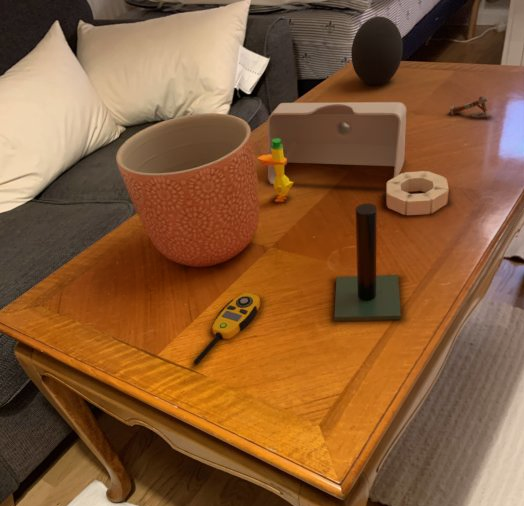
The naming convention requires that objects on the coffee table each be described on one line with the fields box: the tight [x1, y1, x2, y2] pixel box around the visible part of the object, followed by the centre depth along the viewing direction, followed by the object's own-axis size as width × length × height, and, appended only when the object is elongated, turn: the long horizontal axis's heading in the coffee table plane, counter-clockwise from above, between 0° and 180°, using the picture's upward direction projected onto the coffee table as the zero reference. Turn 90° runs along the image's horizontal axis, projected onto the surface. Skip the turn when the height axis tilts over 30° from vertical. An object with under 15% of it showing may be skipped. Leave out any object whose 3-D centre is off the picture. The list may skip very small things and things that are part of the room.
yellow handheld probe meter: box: [193, 292, 261, 365], centre depth 74 cm, size 5×2×15 cm
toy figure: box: [256, 138, 295, 203], centre depth 95 cm, size 7×4×12 cm, turn 64°
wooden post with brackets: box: [449, 95, 490, 119], centre depth 110 cm, size 2×8×4 cm, turn 50°
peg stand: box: [333, 203, 402, 322], centre depth 70 cm, size 9×9×15 cm
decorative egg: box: [350, 16, 404, 86], centre depth 127 cm, size 12×12×15 cm
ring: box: [385, 170, 450, 216], centre depth 91 cm, size 11×11×3 cm
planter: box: [115, 112, 260, 268], centre depth 85 cm, size 21×21×19 cm
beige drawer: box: [267, 101, 407, 185], centre depth 100 cm, size 25×16×12 cm, turn 68°
